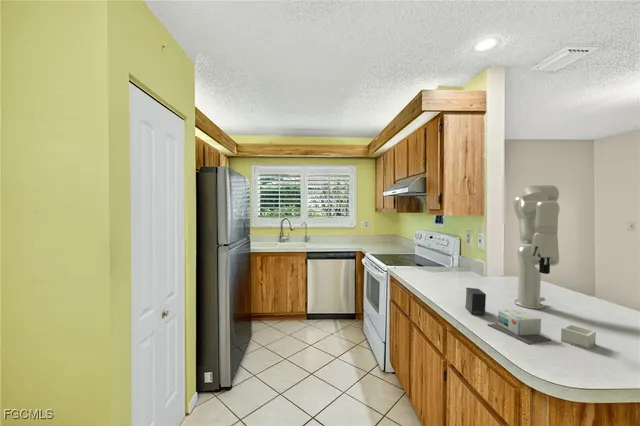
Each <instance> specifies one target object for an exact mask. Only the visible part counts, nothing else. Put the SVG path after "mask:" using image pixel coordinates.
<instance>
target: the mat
mask: <svg viewBox="0 0 640 426" xmlns="http://www.w3.org/2000/svg"><path fill="white" fill-rule="evenodd" d="M487 326H488V327H491V328H493V329H495V330H497V331H499V332H501V333H503V334H506V335H508V336H510V337H512V338H514V339H516V340H517V341H521V342H523V343H525V344H527V345H532V344H537V343H538V344H539V343H545V342H550V341H552V339H551V338H548V337H546V336H544V335H542V334H532V335H516V334H514V333H512V332H511V331H509V330H507V329H505V328H503V327H501V326H499V325H498V322H496V323H488V324H487Z"/></svg>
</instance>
